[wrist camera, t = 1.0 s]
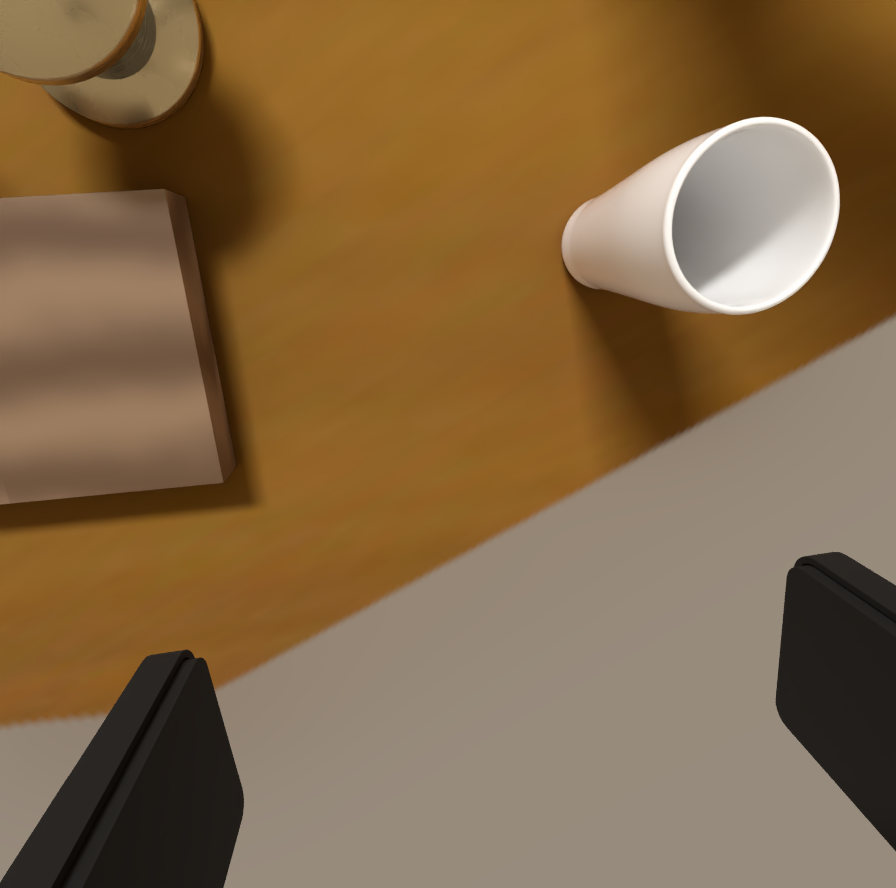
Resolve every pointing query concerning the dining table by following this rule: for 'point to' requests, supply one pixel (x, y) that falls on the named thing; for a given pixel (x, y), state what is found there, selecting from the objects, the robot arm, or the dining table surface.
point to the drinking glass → (713, 222)
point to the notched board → (105, 349)
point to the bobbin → (106, 55)
